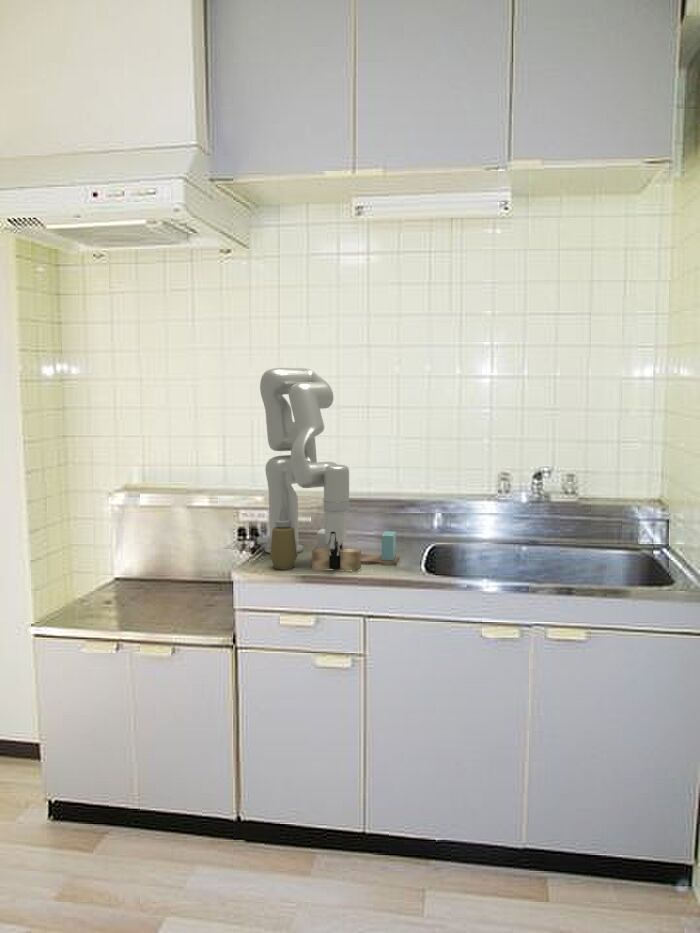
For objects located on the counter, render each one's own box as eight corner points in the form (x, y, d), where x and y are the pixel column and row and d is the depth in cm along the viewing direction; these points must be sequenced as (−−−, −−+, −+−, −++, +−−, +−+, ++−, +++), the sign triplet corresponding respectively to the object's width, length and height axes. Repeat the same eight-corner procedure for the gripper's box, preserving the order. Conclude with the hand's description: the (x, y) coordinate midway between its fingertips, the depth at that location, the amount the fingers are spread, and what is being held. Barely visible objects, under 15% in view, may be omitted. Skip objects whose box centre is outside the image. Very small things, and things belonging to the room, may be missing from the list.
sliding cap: (381, 560, 227) (381, 535, 227) (384, 554, 234) (384, 531, 233) (393, 560, 227) (393, 536, 226) (395, 555, 234) (395, 531, 233)
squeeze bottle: (292, 571, 219) (292, 511, 217) (266, 570, 220) (265, 510, 218) (300, 565, 227) (299, 506, 225) (274, 563, 228) (274, 506, 226)
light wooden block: (312, 569, 222) (312, 550, 221) (315, 566, 225) (315, 547, 225) (358, 572, 219) (358, 552, 218) (360, 569, 223) (360, 549, 222)
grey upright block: (316, 558, 231) (316, 533, 230) (321, 553, 238) (321, 528, 237) (327, 558, 231) (327, 533, 230) (332, 553, 237) (332, 529, 237)
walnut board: (312, 561, 231) (312, 554, 230) (319, 555, 239) (319, 548, 239) (395, 565, 226) (395, 558, 226) (399, 558, 235) (399, 551, 234)
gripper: (330, 501, 229) (330, 559, 231) (317, 510, 212) (318, 573, 214) (353, 502, 227) (353, 560, 230) (343, 511, 211) (343, 574, 213)
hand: (336, 566), depth 222 cm, fingers open, 4 cm apart
